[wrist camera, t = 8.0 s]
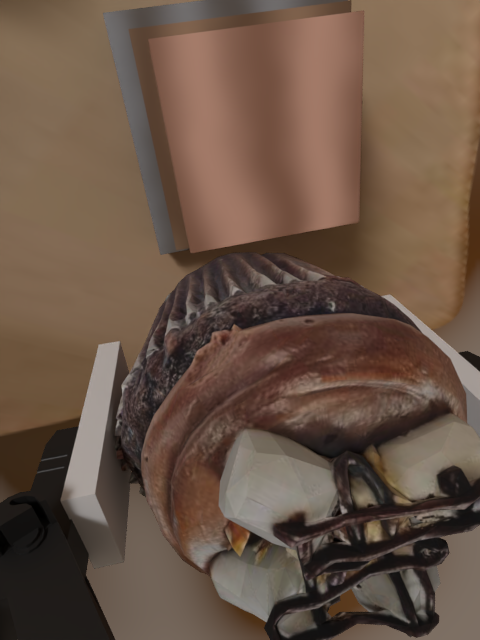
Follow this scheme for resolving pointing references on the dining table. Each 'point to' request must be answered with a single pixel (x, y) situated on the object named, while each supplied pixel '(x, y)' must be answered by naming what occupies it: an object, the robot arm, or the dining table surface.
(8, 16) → the dining table surface
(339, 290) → the cupcake
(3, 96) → the dining table surface
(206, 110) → the stepped pyramid block
